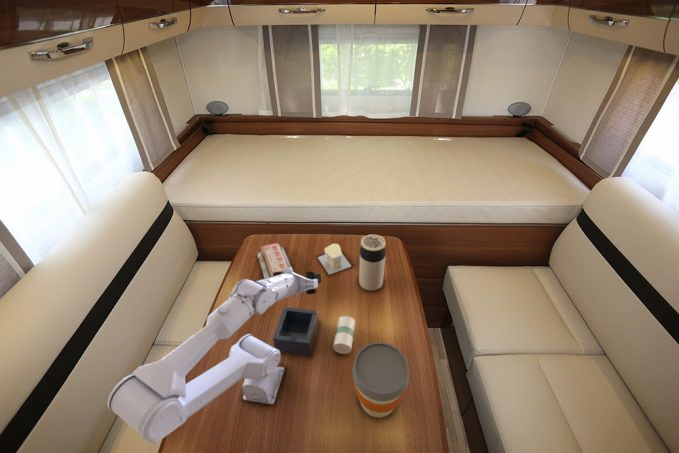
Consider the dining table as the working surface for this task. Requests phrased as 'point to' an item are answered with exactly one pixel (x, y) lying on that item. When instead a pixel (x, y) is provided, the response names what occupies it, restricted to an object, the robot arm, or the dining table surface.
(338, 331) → the paper roll
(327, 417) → the dining table surface
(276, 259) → the packaged product
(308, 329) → the open box
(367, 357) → the reusable coffee cup
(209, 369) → the robot arm
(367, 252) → the travel mug
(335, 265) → the stacked layers on plate
